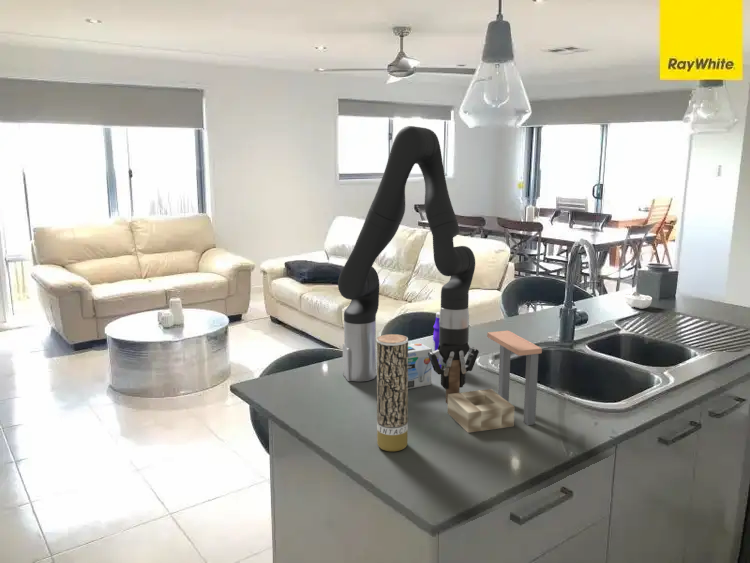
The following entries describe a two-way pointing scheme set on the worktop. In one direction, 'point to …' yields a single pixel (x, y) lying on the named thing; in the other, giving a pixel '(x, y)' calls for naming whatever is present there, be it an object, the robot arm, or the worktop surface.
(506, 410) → the socket
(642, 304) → the cell model
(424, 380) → the light bulb box
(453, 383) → the peg
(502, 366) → the wooden top bench
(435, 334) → the bottle
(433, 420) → the worktop surface
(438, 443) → the worktop surface
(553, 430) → the worktop surface
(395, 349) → the paper tube
